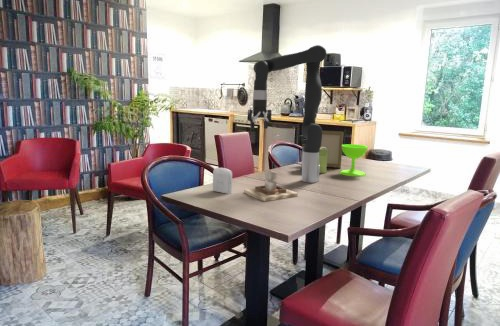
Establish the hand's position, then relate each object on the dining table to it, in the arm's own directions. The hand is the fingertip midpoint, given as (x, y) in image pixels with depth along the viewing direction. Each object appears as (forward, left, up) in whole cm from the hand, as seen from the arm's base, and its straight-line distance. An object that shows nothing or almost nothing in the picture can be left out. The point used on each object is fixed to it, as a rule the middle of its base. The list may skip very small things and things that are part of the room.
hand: (259, 128), depth 203 cm
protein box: (-50, -9, -30) cm, 59 cm away
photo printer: (+28, +10, -30) cm, 42 cm away
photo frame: (-70, -19, -30) cm, 79 cm away
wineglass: (-67, +9, -30) cm, 74 cm away
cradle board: (+9, +25, -30) cm, 40 cm away
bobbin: (+9, +25, -29) cm, 39 cm away
